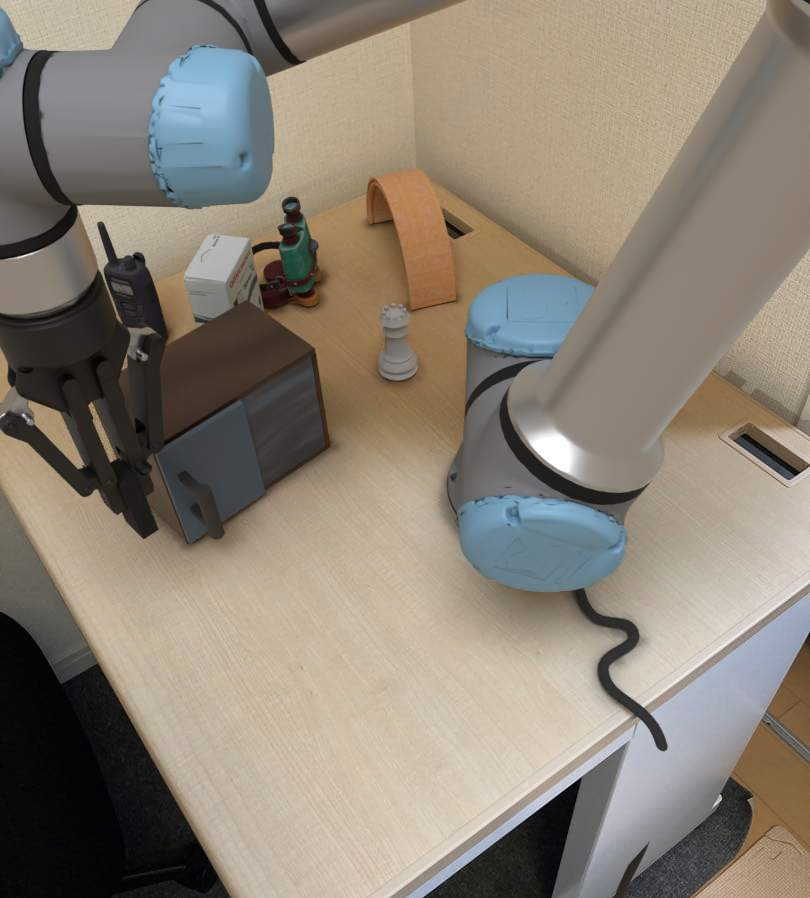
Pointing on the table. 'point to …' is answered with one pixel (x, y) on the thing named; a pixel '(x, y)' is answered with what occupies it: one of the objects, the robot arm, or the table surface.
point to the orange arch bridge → (416, 233)
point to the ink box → (221, 277)
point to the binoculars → (291, 261)
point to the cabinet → (240, 394)
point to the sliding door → (212, 472)
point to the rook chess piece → (396, 345)
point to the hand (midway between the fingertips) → (142, 525)
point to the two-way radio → (132, 288)
